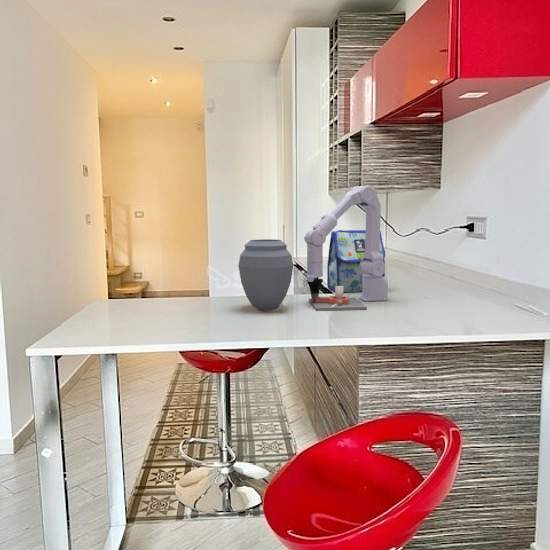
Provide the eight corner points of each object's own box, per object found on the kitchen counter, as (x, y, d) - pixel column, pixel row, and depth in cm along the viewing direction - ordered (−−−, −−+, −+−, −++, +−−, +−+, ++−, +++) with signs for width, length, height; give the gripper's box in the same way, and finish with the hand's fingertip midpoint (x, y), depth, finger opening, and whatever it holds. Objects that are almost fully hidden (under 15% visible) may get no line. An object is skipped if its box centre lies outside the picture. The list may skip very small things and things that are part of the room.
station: (354, 300, 206) (355, 282, 205) (366, 309, 187) (367, 290, 186) (308, 301, 205) (308, 283, 204) (316, 310, 186) (316, 291, 185)
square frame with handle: (348, 300, 199) (348, 292, 198) (348, 304, 192) (348, 295, 192) (312, 299, 201) (312, 292, 200) (310, 303, 194) (310, 295, 194)
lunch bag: (338, 294, 220) (338, 231, 217) (325, 288, 236) (325, 229, 233) (387, 292, 225) (389, 230, 222) (371, 286, 241) (372, 228, 238)
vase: (301, 305, 196) (301, 239, 193) (279, 315, 178) (279, 242, 175) (254, 302, 204) (253, 238, 201) (228, 311, 186) (227, 241, 183)
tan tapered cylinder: (341, 305, 191) (341, 299, 191) (342, 306, 189) (342, 300, 189) (336, 305, 191) (337, 299, 191) (337, 306, 189) (337, 300, 189)
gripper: (309, 259, 205) (309, 294, 207) (299, 263, 192) (299, 301, 193) (327, 260, 203) (327, 295, 205) (318, 264, 189) (318, 302, 191)
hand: (314, 298), depth 199 cm, fingers closed, pressing on square frame with handle
